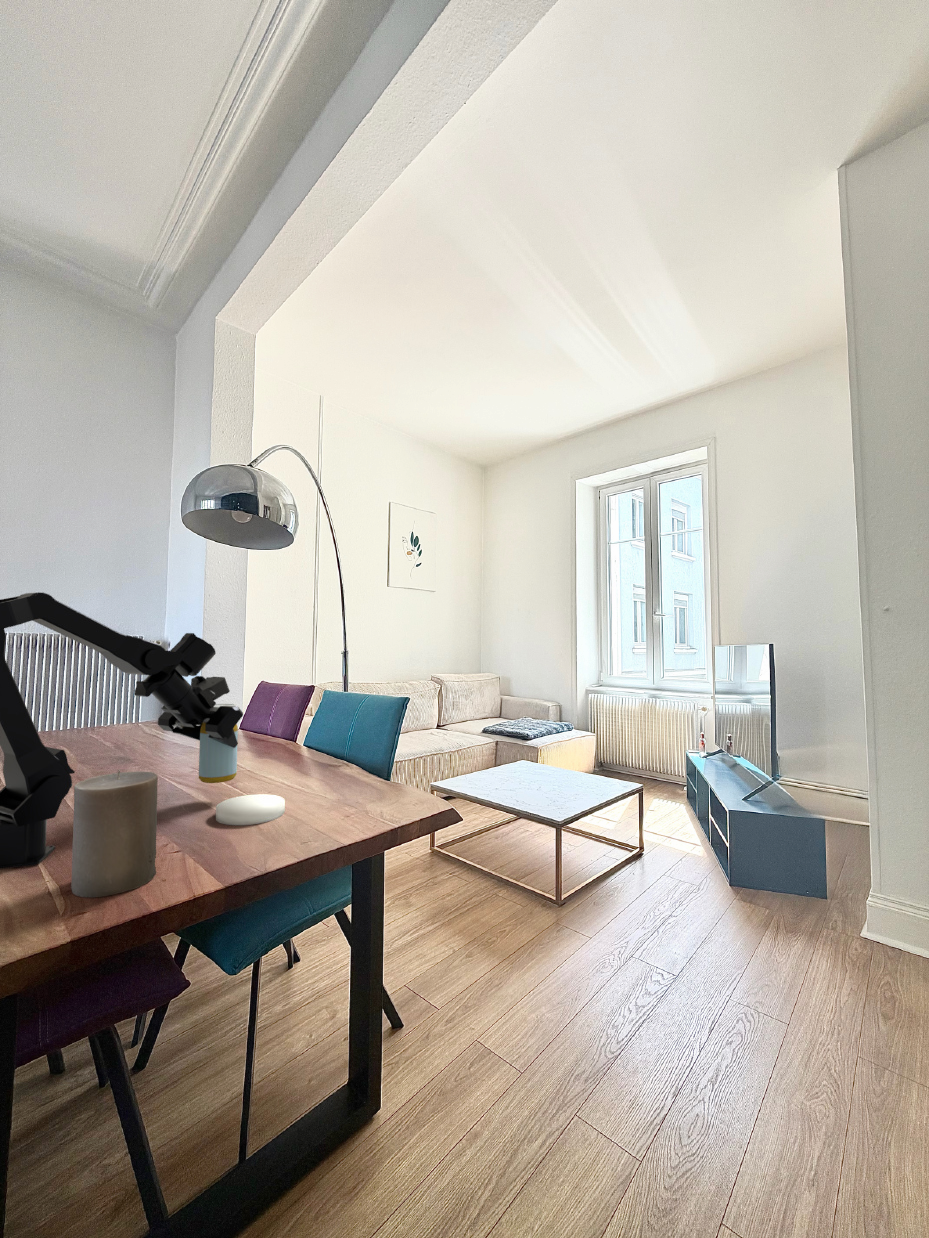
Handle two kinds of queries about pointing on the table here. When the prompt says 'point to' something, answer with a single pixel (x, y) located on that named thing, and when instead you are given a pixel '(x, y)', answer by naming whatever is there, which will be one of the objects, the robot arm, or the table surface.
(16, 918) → the table surface
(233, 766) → the bottle
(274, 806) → the round base
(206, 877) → the table surface
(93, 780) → the pillar candle
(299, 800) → the table surface
